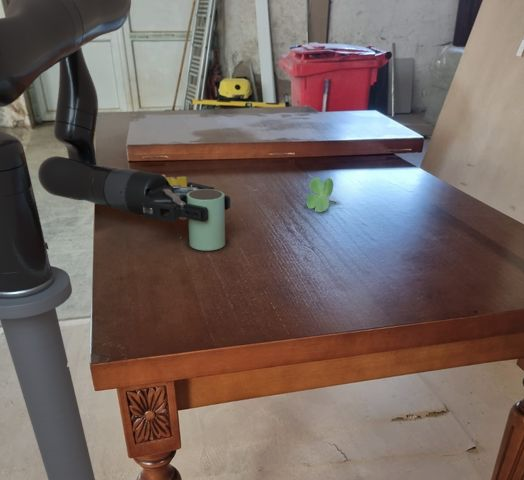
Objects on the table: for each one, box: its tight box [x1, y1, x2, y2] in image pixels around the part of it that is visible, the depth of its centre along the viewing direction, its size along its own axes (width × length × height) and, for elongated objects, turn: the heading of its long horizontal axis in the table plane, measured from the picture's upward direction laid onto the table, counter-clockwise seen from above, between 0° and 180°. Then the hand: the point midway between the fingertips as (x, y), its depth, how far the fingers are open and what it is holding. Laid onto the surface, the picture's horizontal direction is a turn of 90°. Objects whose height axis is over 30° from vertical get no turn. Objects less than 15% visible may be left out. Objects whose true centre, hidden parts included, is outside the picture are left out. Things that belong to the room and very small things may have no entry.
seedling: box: [305, 176, 337, 213], centre depth 108 cm, size 7×8×6 cm
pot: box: [187, 189, 226, 252], centre depth 88 cm, size 6×6×9 cm
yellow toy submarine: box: [162, 174, 188, 187], centre depth 110 cm, size 10×4×5 cm, turn 102°
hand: (218, 208), depth 86 cm, fingers closed on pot, 6 cm apart
